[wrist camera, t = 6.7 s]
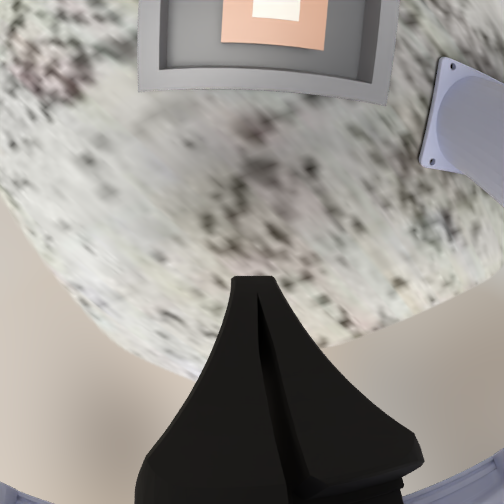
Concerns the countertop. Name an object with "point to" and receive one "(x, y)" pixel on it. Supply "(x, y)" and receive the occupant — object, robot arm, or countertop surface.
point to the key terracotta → (275, 22)
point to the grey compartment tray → (267, 52)
